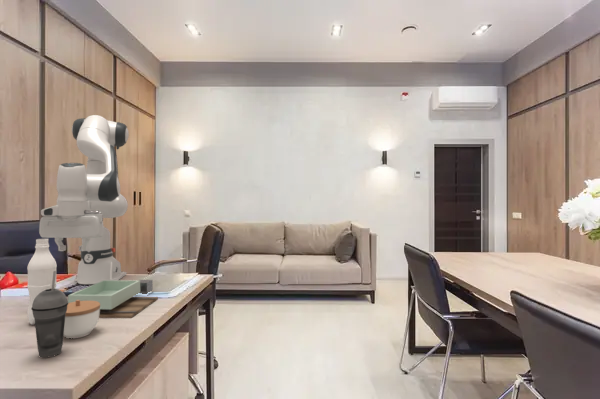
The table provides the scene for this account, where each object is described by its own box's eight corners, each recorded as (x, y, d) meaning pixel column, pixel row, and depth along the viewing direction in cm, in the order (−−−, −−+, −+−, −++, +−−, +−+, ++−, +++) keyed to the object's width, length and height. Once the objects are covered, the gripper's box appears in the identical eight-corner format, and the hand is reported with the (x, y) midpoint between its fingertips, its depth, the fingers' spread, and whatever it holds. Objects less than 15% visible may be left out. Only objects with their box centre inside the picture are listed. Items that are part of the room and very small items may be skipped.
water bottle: (59, 322, 106) (59, 239, 106) (29, 328, 101) (29, 241, 101) (54, 316, 111) (53, 237, 111) (25, 322, 106) (25, 239, 106)
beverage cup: (48, 346, 89) (48, 267, 89) (75, 347, 88) (75, 268, 88) (23, 359, 82) (22, 273, 82) (52, 361, 81) (52, 274, 81)
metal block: (139, 292, 140) (139, 279, 140) (152, 292, 140) (152, 279, 140) (133, 295, 135) (133, 282, 135) (146, 295, 135) (146, 282, 135)
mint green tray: (103, 295, 130) (103, 280, 130) (140, 295, 130) (140, 280, 130) (68, 312, 110) (68, 295, 110) (111, 313, 110) (111, 295, 110)
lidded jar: (60, 345, 90) (60, 309, 90) (49, 334, 97) (49, 300, 97) (106, 334, 97) (105, 300, 97) (93, 324, 105) (92, 292, 105)
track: (103, 298, 130) (103, 295, 130) (157, 299, 130) (157, 296, 130) (67, 317, 110) (67, 314, 110) (131, 318, 110) (131, 314, 110)
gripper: (107, 210, 123) (107, 249, 123) (49, 209, 123) (49, 249, 123) (97, 210, 117) (97, 252, 117) (35, 210, 117) (35, 252, 117)
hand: (72, 251), depth 120 cm, fingers open, 5 cm apart
